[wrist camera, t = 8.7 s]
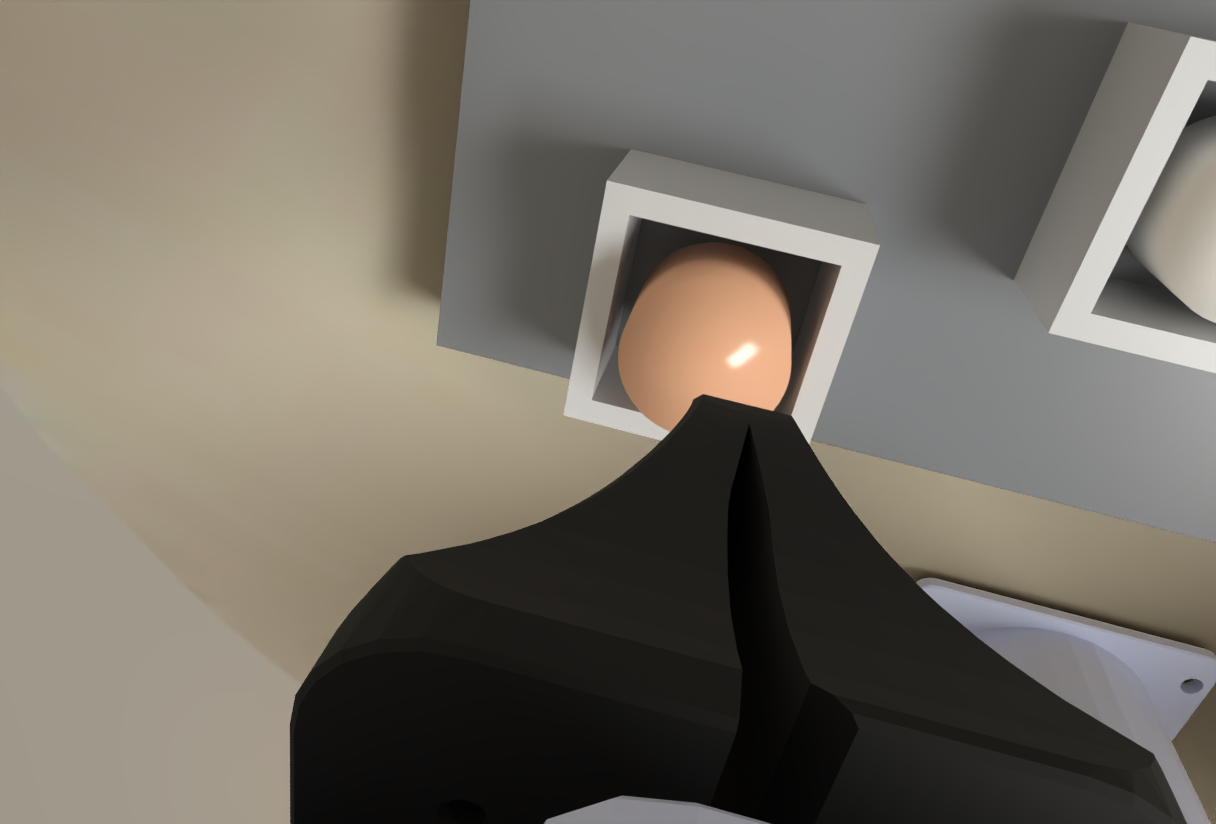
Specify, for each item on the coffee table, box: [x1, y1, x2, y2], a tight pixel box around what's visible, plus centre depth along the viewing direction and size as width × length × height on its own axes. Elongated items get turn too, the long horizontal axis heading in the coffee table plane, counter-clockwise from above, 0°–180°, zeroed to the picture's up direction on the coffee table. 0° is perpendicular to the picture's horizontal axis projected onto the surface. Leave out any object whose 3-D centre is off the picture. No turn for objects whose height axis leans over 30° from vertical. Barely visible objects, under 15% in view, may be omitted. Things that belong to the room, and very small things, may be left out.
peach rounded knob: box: [618, 242, 791, 432], centre depth 16 cm, size 3×3×2 cm
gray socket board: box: [437, 0, 1216, 543], centre depth 15 cm, size 17×18×5 cm
